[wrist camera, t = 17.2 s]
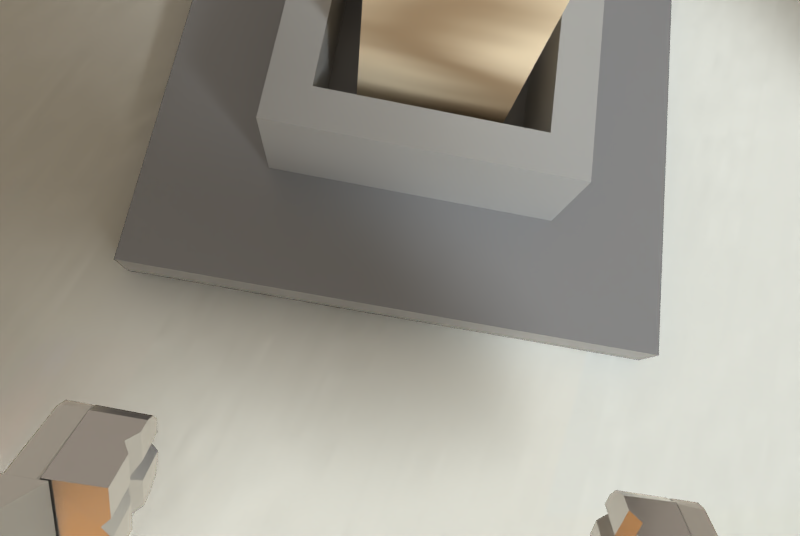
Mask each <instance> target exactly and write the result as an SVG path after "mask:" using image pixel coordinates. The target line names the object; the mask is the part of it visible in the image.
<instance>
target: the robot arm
mask: <svg viewBox="0 0 800 536" xmlns="http://www.w3.org/2000/svg"><path fill="white" fill-rule="evenodd" d="M157 432H158V431H157V418H156V417H154V416H152V415H147V414H141V413H136V412H131V411H125V410H120V409H115V408H109V407H104V406H99V405H91V404H85V403H80V402H75V401H69V400H65V401H64V402H62V403H60V404H59V405H57V406H56V407H55V409H54V410H53V411H52V412H51V414H50V415H49V416H48V418H47V419H46V420H45V421H44V423H43V424H42V425H41V426H40V428H39V429H38V430H37V431H36V433H35V434H34V435H33V437H32V438H31V439H30V440H29V442H28V443H27V444H26V445H25V447H24V448H23V449H22V450H21V452H20V453H19V454H18V456H17V457H16V458H15V459H14V461H13V462H12V463H11V464H10V466H9V467H8V468H7V469H6V471H5V472H4V473H3V474H2V473H0V536H129V534H130V532H131V530H132V513H134V512H135V511H137V510H138V509H140V508H141V507H143V506H144V504H145V502H146V500H147V498H148V495H149V493H150V491H151V488H152V485H153V482H154V479H155V475H156V470H157V463H158V450H157V449H156V448H155V447H154V446H153V444H152V442H153V440H154V438H155V436H156V434H157ZM605 506H606V509H607V512H608V514H607V515H605V516H603V517H601V518H600V519H598V520H596V522H595V524H594V526H593V529H592V531H591V533H590V536H718V535H717V533H716V531H715V529H714V527H713V525H712V523H711V521H710V519H709V517H708V515H707V513H706V511H705V509H704V508H703V507H702V506H701V505H700V504H699V503H696V502H690V501H684V500H677V499H668V498H665V497H658V496H651V495H645V494H638V493H632V492H625V491H618V490H616V491H614V492H613V493H611V494H610V495H609V497H608V499H607V501H606V503H605Z"/></svg>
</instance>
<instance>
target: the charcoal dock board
mask: <svg viewBox="0 0 800 536" xmlns="http://www.w3.org/2000/svg"><path fill="white" fill-rule="evenodd" d="M362 1H363V0H193V1H192V4H191V7H190V10H189V14H188V17H187V20H186V24H185V27H184V30H183V33H182V37H181V40H180V43H179V47H178V50H177V53H176V56H175V60H174V63H173V66H172V70H171V73H170V76H169V79H168V83H167V86H166V89H165V93H164V96H163V99H162V102H161V106H160V109H159V112H158V116H157V119H156V122H155V126H154V129H153V132H152V135H151V139H150V142H149V145H148V149H147V152H146V155H145V158H144V162H143V165H142V168H141V172H140V175H139V178H138V181H137V185H136V188H135V191H134V195H133V198H132V201H131V204H130V208H129V211H128V214H127V218H126V221H125V224H124V227H123V231H122V234H121V237H120V241H119V244H118V247H117V250H116V254H115V257H114V260H115V261H117V262H118V263H119V264H121V265H122V266H123V267H124V268H126V269H127V270H129V271H135V272H141V273H147V274H152V275H158V276H164V277H169V278H175V279H181V280H186V281H192V282H198V283H203V284H209V285H215V286H220V287H226V288H232V289H238V290H243V291H249V292H255V293H260V294H266V295H272V296H277V297H283V298H289V299H294V300H300V301H306V302H311V303H317V304H323V305H329V306H334V307H340V308H346V309H351V310H357V311H363V312H368V313H374V314H380V315H385V316H391V317H397V318H402V319H408V320H414V321H420V322H425V323H431V324H437V325H442V326H448V327H454V328H459V329H465V330H471V331H476V332H482V333H488V334H493V335H499V336H505V337H511V338H516V339H522V340H528V341H533V342H539V343H545V344H550V345H556V346H562V347H567V348H573V349H579V350H585V351H590V352H596V353H602V354H607V355H613V356H619V357H624V358H630V359H636V360H641V359H645V358H650V357H654V356H658V355H659V328H660V301H661V273H662V246H663V218H664V191H665V163H666V136H667V108H668V81H669V53H670V26H671V0H570V1H569V3H568V4H567V6H566V8H565V10H564V12H563V14H562V15H561V17H560V19H559V21H558V23H557V25H556V27H555V28H554V30H553V32H552V34H551V36H550V38H549V39H548V41H547V43H546V45H545V47H544V49H543V50H542V52H541V54H540V56H539V58H538V60H537V62H536V63H535V65H534V67H533V69H532V71H531V73H530V74H529V76H528V78H527V80H526V82H525V84H524V85H523V87H522V89H521V91H520V93H519V95H518V96H517V98H516V100H515V102H514V104H513V106H512V108H511V109H510V111H509V113H508V115H507V117H506V119H505V120H504V122H503V123H499V122H494V121H488V120H483V119H478V118H473V117H468V116H463V115H458V114H453V113H448V112H443V111H438V110H433V109H427V108H422V107H417V106H412V105H407V104H402V103H397V102H392V101H387V100H382V99H377V98H372V97H366V96H361V95H357V81H358V65H359V49H360V33H361V17H362Z"/></svg>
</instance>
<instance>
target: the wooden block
mask: <svg viewBox="0 0 800 536" xmlns="http://www.w3.org/2000/svg"><path fill="white" fill-rule="evenodd" d="M569 1H570V0H363V1H362V17H361V33H360V49H359V65H358V81H357V95H361V96H366V97H372V98H377V99H382V100H387V101H392V102H397V103H402V104H407V105H412V106H417V107H422V108H427V109H433V110H438V111H443V112H448V113H453V114H458V115H463V116H468V117H473V118H478V119H483V120H488V121H494V122H499V123H503V122H504V120H505V119H506V117H507V115H508V113H509V111H510V109H511V108H512V106H513V104H514V102H515V100H516V98H517V96H518V95H519V93H520V91H521V89H522V87H523V85H524V84H525V82H526V80H527V78H528V76H529V74H530V73H531V71H532V69H533V67H534V65H535V63H536V62H537V60H538V58H539V56H540V54H541V52H542V50H543V49H544V47H545V45H546V43H547V41H548V39H549V38H550V36H551V34H552V32H553V30H554V28H555V27H556V25H557V23H558V21H559V19H560V17H561V15H562V14H563V12H564V10H565V8H566V6H567V4H568V3H569Z"/></svg>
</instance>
